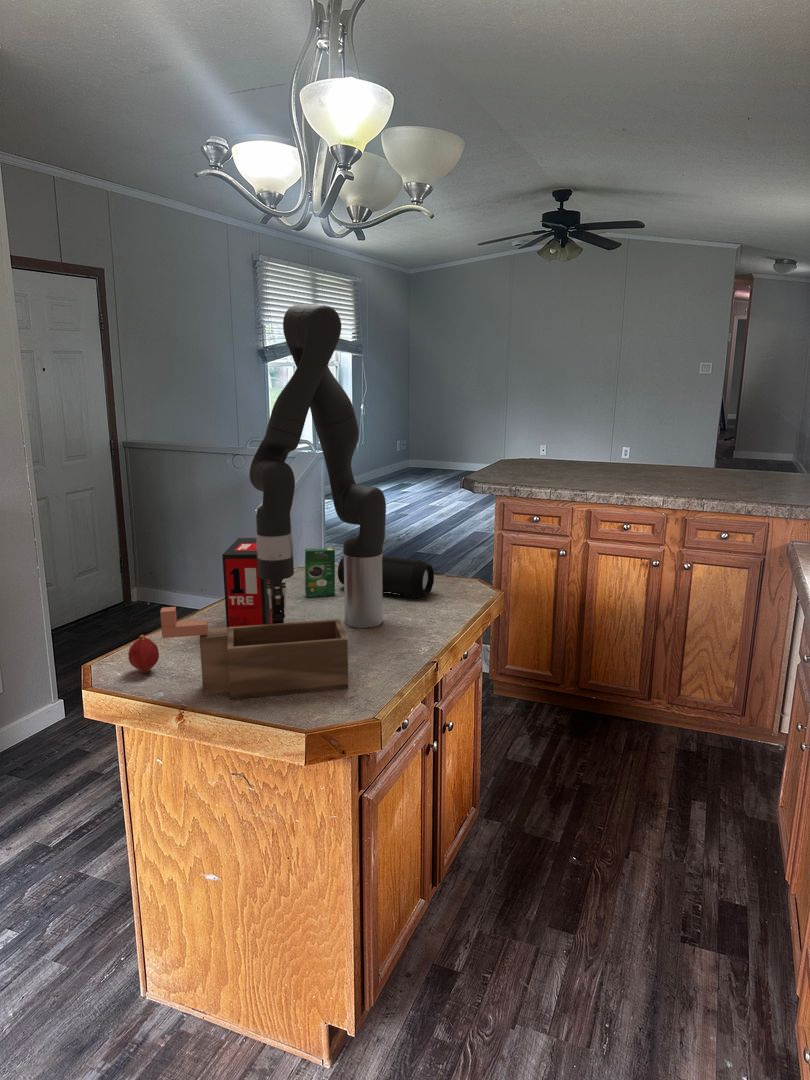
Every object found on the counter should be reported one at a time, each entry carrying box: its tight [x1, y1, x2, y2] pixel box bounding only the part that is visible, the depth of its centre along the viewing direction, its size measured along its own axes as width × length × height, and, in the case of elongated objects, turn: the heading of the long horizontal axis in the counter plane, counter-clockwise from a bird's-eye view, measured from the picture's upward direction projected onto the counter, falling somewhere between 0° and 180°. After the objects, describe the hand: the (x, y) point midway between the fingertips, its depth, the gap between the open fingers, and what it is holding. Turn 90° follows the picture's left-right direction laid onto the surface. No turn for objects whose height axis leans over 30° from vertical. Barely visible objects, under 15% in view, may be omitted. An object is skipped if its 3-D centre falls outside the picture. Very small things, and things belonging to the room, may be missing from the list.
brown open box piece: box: [199, 618, 349, 701], centre depth 141 cm, size 12×27×11 cm, turn 102°
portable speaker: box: [337, 555, 435, 598], centre depth 200 cm, size 26×10×10 cm, turn 65°
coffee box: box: [304, 547, 336, 598], centre depth 196 cm, size 8×3×13 cm, turn 102°
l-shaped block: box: [159, 606, 209, 639], centre depth 136 cm, size 3×8×5 cm, turn 102°
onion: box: [128, 634, 160, 674], centre depth 147 cm, size 6×6×8 cm
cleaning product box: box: [221, 537, 272, 627], centre depth 171 cm, size 16×9×20 cm, turn 0°
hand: (278, 631), depth 157 cm, fingers open, 4 cm apart
